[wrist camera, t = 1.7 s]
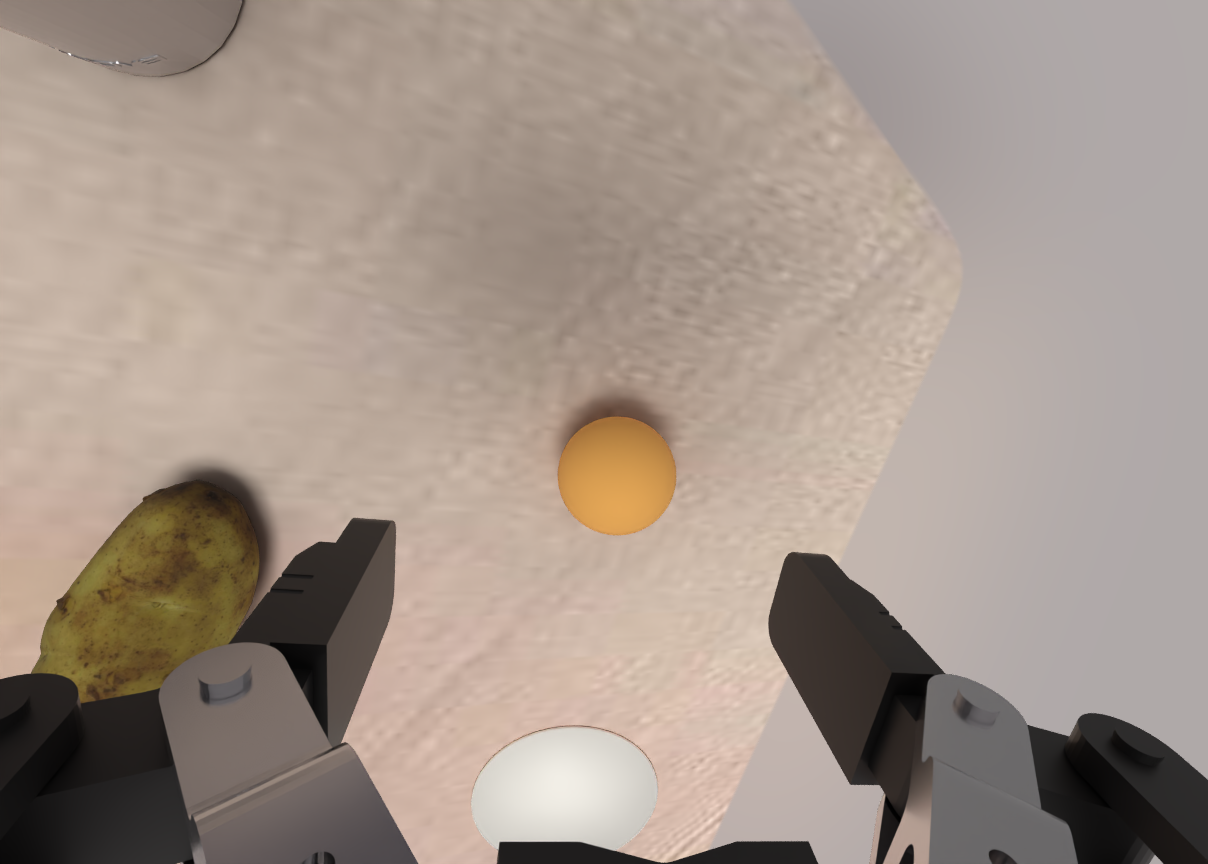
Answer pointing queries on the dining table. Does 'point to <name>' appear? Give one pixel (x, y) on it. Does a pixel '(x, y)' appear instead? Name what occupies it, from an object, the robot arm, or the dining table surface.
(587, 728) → the white flat disc
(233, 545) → the potato
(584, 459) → the ball
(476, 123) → the dining table surface
